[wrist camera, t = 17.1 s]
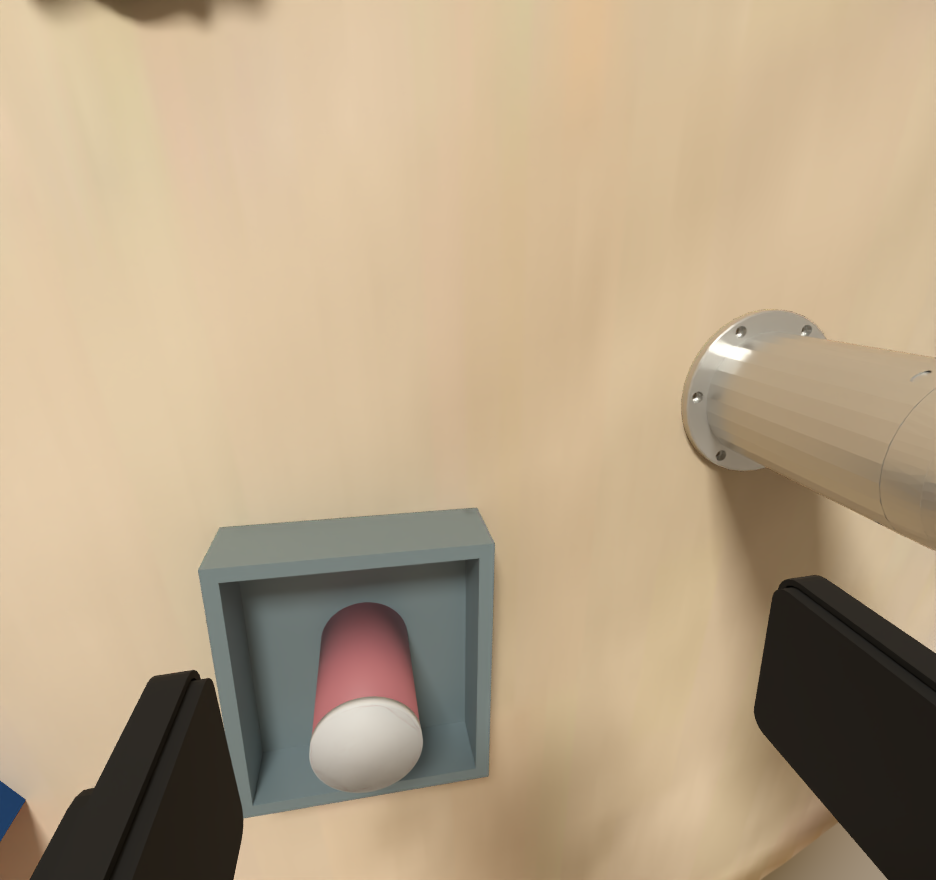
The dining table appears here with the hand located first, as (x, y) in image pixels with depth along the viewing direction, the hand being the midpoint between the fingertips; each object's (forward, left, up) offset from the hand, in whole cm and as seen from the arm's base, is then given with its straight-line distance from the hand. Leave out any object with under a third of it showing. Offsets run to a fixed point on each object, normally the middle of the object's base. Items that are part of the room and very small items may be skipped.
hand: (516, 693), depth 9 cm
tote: (+3, +21, -29) cm, 36 cm away
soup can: (+3, +20, -28) cm, 35 cm away
